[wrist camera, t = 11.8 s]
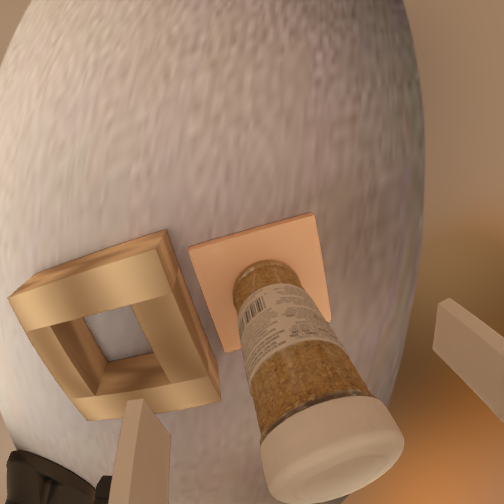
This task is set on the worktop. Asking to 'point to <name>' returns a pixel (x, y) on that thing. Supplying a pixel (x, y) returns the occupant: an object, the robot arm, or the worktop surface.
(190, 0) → the worktop surface
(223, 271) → the terracotta tile
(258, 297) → the sprinkles bottle
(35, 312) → the socket block
